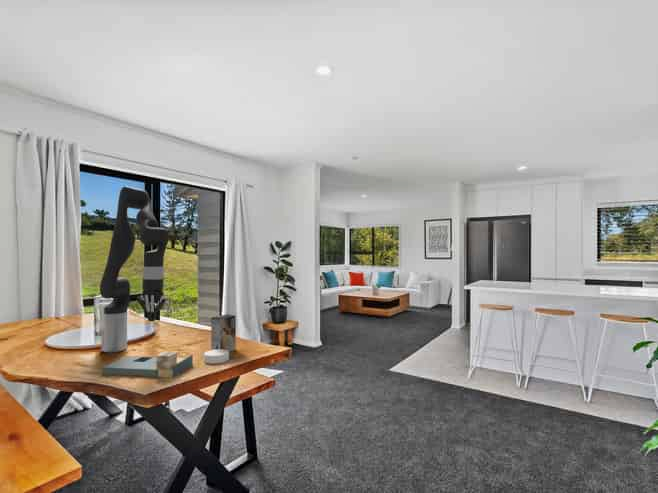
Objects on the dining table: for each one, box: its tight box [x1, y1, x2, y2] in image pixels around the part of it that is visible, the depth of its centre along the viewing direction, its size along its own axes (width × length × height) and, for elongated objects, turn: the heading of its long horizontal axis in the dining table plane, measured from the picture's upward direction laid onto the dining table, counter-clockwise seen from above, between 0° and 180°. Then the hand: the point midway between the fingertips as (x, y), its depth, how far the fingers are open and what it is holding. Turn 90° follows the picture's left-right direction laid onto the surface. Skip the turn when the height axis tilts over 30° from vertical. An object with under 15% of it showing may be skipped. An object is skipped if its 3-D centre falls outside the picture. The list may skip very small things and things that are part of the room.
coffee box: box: [210, 314, 237, 353], centre depth 159 cm, size 9×6×16 cm
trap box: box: [101, 354, 194, 378], centre depth 135 cm, size 28×14×4 cm, turn 84°
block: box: [156, 351, 178, 370], centre depth 130 cm, size 5×5×5 cm
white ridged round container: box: [203, 349, 230, 365], centre depth 147 cm, size 10×10×4 cm
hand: (151, 320), depth 138 cm, fingers closed
